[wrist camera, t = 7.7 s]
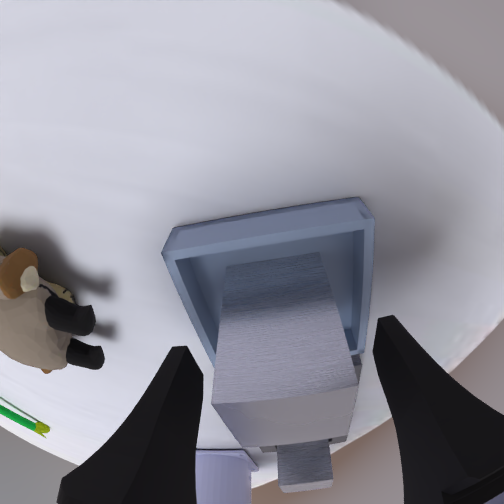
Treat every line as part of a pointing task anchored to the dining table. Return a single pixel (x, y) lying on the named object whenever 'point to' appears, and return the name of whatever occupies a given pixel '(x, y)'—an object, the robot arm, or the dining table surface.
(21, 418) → the toy
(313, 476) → the grey rectangular block
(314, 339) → the light grey block
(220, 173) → the dining table surface
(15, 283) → the toy
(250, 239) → the tray
